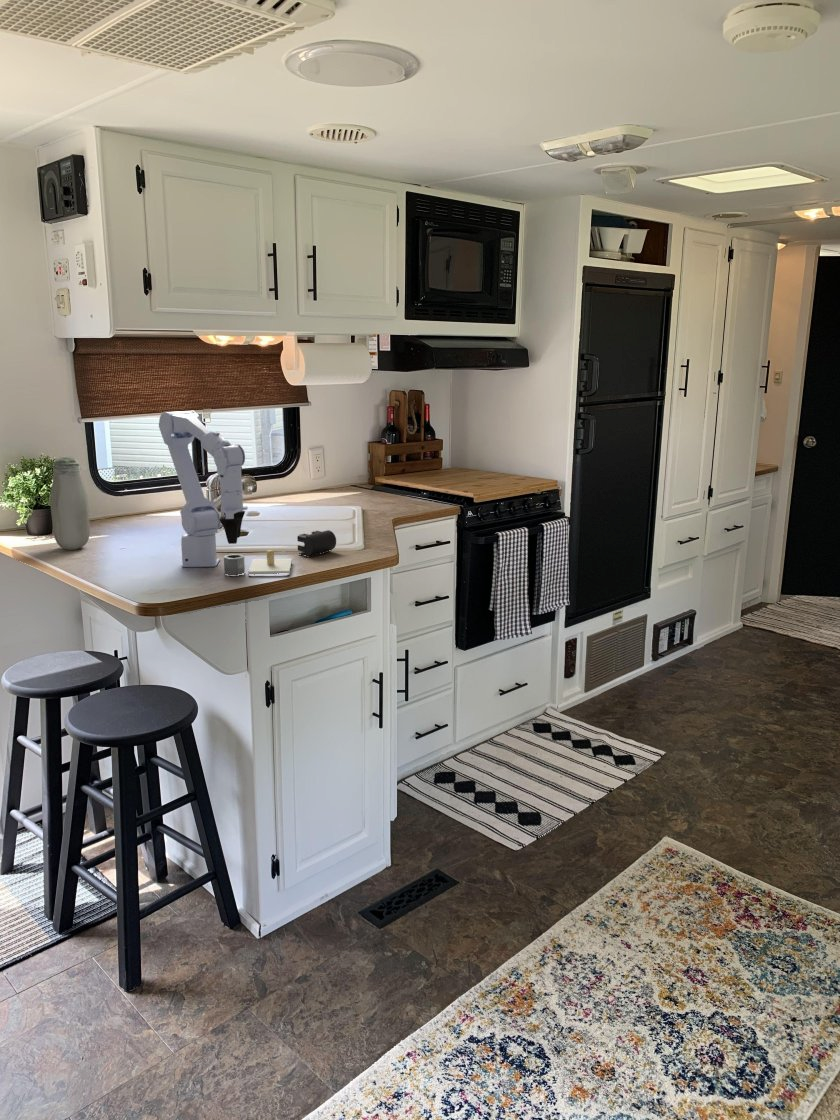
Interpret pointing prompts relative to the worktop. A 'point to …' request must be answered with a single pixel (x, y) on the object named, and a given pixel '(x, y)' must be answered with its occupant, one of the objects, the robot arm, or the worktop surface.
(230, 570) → the sleeve
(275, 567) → the board
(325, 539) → the black cylinder
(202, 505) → the robot arm
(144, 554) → the worktop surface
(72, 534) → the grey bottle
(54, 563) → the worktop surface
